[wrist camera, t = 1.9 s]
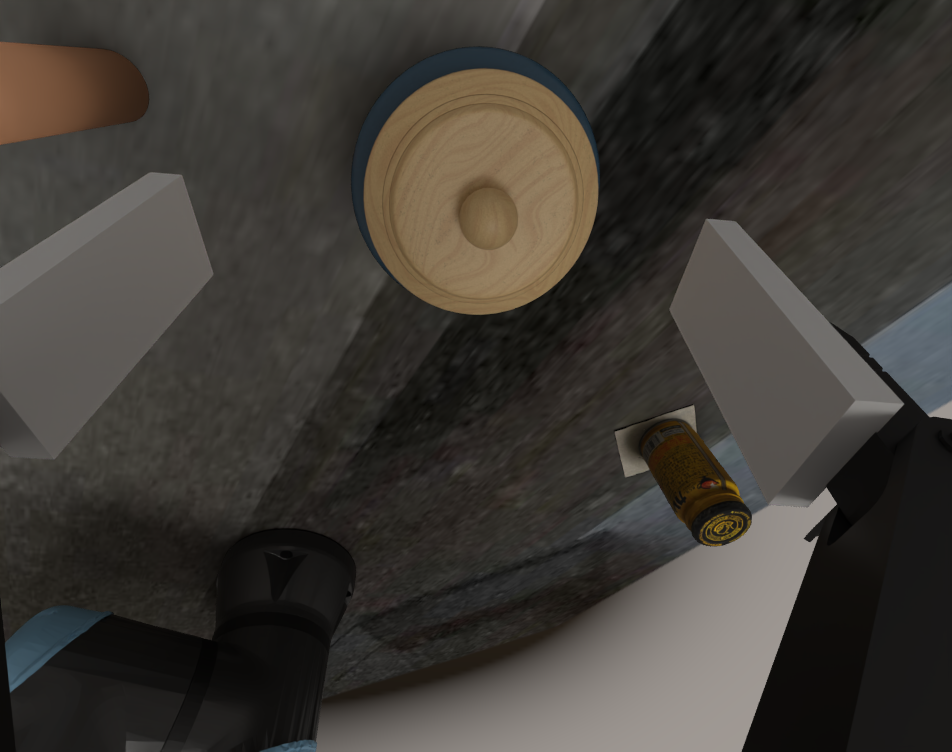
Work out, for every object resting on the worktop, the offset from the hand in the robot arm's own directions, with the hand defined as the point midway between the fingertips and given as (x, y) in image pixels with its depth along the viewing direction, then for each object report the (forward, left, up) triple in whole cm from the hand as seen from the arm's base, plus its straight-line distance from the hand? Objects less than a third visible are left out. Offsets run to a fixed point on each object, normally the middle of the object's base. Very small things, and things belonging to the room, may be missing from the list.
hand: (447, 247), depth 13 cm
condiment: (+3, -38, -26) cm, 46 cm away
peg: (-15, +13, -25) cm, 32 cm away
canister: (+1, -3, -25) cm, 26 cm away
